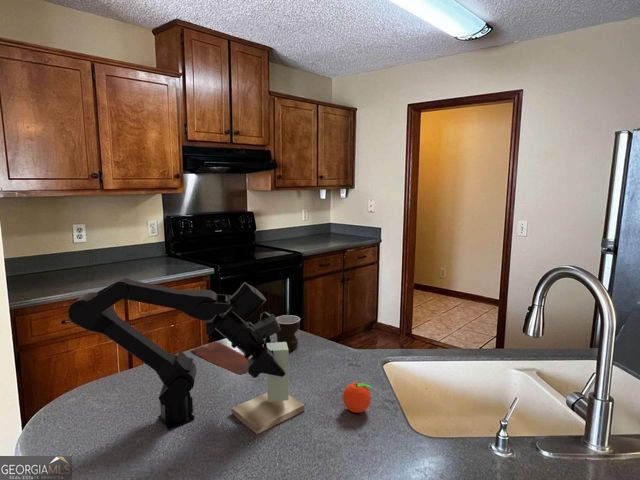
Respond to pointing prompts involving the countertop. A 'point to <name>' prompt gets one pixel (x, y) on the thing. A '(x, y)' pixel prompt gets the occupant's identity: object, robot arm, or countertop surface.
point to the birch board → (266, 412)
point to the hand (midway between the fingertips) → (282, 370)
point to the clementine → (357, 397)
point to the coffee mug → (289, 330)
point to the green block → (277, 384)
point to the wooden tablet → (223, 357)
